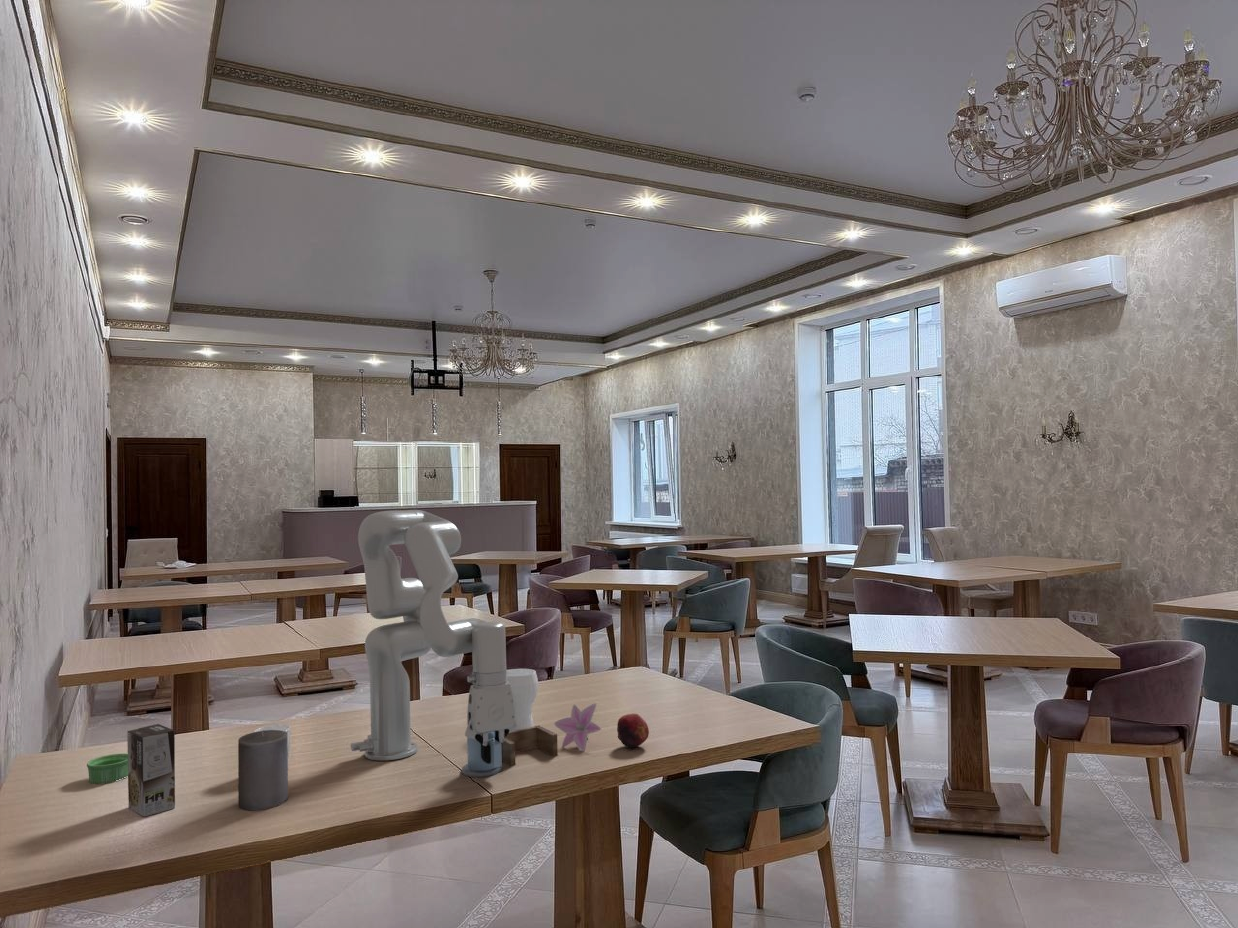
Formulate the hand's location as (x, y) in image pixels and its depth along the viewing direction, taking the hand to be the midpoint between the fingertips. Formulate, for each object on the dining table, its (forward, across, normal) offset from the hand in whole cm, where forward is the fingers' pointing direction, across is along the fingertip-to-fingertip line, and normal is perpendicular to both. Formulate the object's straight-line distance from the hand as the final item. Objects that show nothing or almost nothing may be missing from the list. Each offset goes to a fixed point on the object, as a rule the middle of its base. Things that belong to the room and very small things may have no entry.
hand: (491, 760), depth 185 cm
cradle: (+4, +13, +10) cm, 17 cm away
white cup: (+4, -40, +35) cm, 53 cm away
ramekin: (+4, -72, +55) cm, 91 cm away
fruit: (+4, +37, -1) cm, 37 cm away
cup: (+4, +22, +32) cm, 39 cm away
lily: (+4, +27, +9) cm, 29 cm away
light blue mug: (+2, 0, +3) cm, 4 cm away
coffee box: (+4, -65, +27) cm, 70 cm away
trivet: (+4, 0, +6) cm, 7 cm away
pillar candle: (+4, -45, +16) cm, 48 cm away
